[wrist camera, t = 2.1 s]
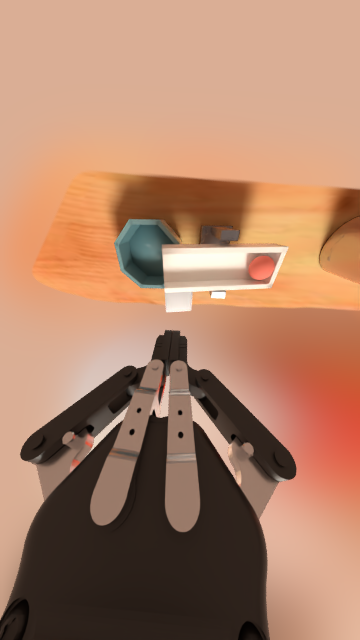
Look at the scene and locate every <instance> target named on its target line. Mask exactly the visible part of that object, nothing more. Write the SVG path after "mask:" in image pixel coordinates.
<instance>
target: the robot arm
mask: <svg viewBox="0 0 360 640" xmlns="http://www.w3.org/2000/svg"><path fill="white" fill-rule="evenodd" d="M320 265H321V267H322V268H323V270H325V271H327V272H329V273H332V274H335V275H337V276H340V277H343V278H345V279H347V280H350V281H353V282H355V283H358V284H360V216H359V217H356V218H354V219H352V220H350V221H349V222H347V223H346V224H344V225H343V226H341V227H340V228H339V229H338V230H337V231H336V232H335V233H333V235H332V236H331V237H330V238H329V239H328V241H327V242H326V244H325V245H324V247H323V249H322V251H321V254H320ZM169 374H170V392H169V410H168V411H169V414H168V416H167V417H163V418H160V408H161V403H162V398H163V393H164V389H165V382H166V376H169ZM190 395H191V396H194V398H195V399H196V401H197V402H198V403H199V405H200V406H201V407H202V409H203V410H204V411H205V412H206V414H207V415H208V416H209V418H210V419H211V421H212V422H213V423H214V424H215V426H216V427H217V428H218V430H219V431H220V432H221V434H222V435H223V436H224V438H225V439H226V440H227V442H228V443H229V444H230V445H229V447H228V457H229V460H230V462H231V464H232V466H233V467H234V470H235V473H236V480H235V479H234V477H233V475H232V474H231V472H230V471H229V469H228V467H227V466H226V465H225V463H224V461H223V460H222V458H221V457H220V455H219V453H218V452H217V450H216V449H215V447H214V445H213V444H212V443H211V441H210V439H209V438H208V436H207V435H206V433H205V432H204V430H203V429H202V428H201V427H200V426H199V425H198V424H197V423H196V422H194V421H192V410H191V398H190ZM128 406H129V407H128ZM127 407H128V410H127V413H126V415H125V418H124V420H123V421H121V422H120V423H119V424H117V425H116V426H115V427H114V428H113V429H112V430H111V431H110V432H109V433H108V435H106V437H105V438H104V439H103V440H102V441H101V442H100V443H99V444H98V445H97V446H96V447H95V448H94V449H93V450H92V451H91V452H90V453H89V451H90V450H91V448H92V446H93V443H94V438H95V437H96V436H97V435H98V434H99V433H100V432H101V431H102V430H103V429H104V428H105V427H106V426H107V425H109V423H111V422H112V421H113V420H114V419H115V418H116V417H117V416H118V415H119V414H120V413H121V412H122V411H123V410H124V409H125V408H127ZM88 453H89V454H88ZM87 454H88V455H87ZM20 455H21V458H22V460H25V461H28V462H31V463H32V464H35V465H36V466H37V470H38V475H39V479H40V484H41V487H42V492H43V497H44V503H43V504H42V506H41V507H40V509H39V510H38V512H37V514H36V516H35V517H34V520H33V522H32V524H31V526H30V529H29V531H28V534H27V537H26V540H25V544H24V549H23V554H22V558H21V563H20V567H19V571H18V574H17V578H16V581H15V584H14V587H13V590H12V593H11V596H10V599H9V601H8V604H7V606H6V609H5V611H4V613H3V616H2V617H1V620H0V640H270V637H269V630H268V621H267V607H266V579H267V550H266V543H265V538H264V534H263V530H262V527H261V524H260V522H259V518H260V516H261V514H262V513H263V511H264V509H265V507H266V505H267V503H268V501H269V499H270V497H271V495H272V494H273V492H274V490H275V488H276V486H277V484H278V483H279V482H282V481H286V480H290V479H293V478H294V477H295V475H296V464H295V461H294V459H293V457H292V455H291V454H290V452H289V451H288V450H287V449H286V448H285V447H284V446H283V445H282V444H281V443H280V442H279V441H278V440H277V439H276V438H275V437H274V436H273V435H272V434H271V433H270V432H269V431H268V429H267V428H266V427H265V426H264V425H263V424H262V423H261V422H259V420H258V419H257V418H256V417H255V416H253V414H252V413H251V412H250V411H249V410H248V409H247V408H246V407H245V406H244V405H243V404H242V403H241V402H240V401H239V400H238V399H237V398H236V397H235V396H234V395H233V394H232V393H231V392H230V391H229V390H228V389H227V388H226V387H225V386H224V385H223V384H222V383H221V382H220V381H219V380H218V379H217V378H216V377H215V376H214V375H213V374H212V373H211V372H210V371H208V370H205V369H202V370H199V371H197V370H194V369H192V368H190V367H189V365H188V364H187V339H186V337H185V336H180V331H171V330H170V331H169V330H165V333H164V335H159V337H158V338H157V340H156V344H155V348H154V351H153V355H152V359H151V362H149V363H148V365H147V366H144V367H141V368H137V369H136V368H135V367H134V366H126V367H124V368H123V369H121V370H120V371H119V372H117V373H116V374H114V375H113V376H112V377H110V378H109V379H107V380H106V381H105V382H103V383H102V384H100V385H99V386H98V387H96V388H95V389H94V390H92V391H91V392H90V393H88V394H87V395H85V396H84V397H83V398H81V399H80V400H79V401H77V402H76V403H74V404H73V405H72V406H70V407H69V408H68V409H66V410H65V411H63V412H62V413H61V414H59V415H58V416H57V417H55V418H54V419H53V420H51V421H50V422H48V423H47V424H46V425H45V426H43V427H42V428H40V429H39V430H37V431H36V432H35V433H33V434H32V435H31V436H30V437H29V438H28V439H27V441H26V442H25V443H24V445H23V447H22V449H21V453H20ZM86 455H87V456H86ZM85 456H86V457H85Z"/></svg>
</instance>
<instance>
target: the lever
mask: <svg viewBox="0 0 360 640" xmlns="http://www.w3.org/2000/svg"><path fill="white" fill-rule="evenodd" d="M287 250H288V247H287V246H282V245H278V244H273V243H270V244H167V245H162V256H163V272H164V287H165V303H166V312H178V311H191V306H192V292H194V291H216V290H238V289H260V288H271V287H272V285H273V282H274V280H275V278H276V275H277V273H278V271H279V268H280V266H281V264H282V261H283V259H284V257H285V254H286V252H287ZM259 256H268V257H270V258H272V259H273V261H274V264H275V267H274V271H273V272H272V274H271V275H270V276H269V277H267V278H265V279H262V280H256V279H254V278H252V277H251V276H250V274H249V271H248V268H249V265H250V263H251V262H252V261H253V260H254V259H255V258H257V257H259Z"/></svg>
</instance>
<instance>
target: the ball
mask: <svg viewBox="0 0 360 640" xmlns="http://www.w3.org/2000/svg"><path fill="white" fill-rule="evenodd" d="M274 267H275V264H274V261H273V259H272V258H270V257H268V256H259V257H257V258H255V259H254V260H253V261H252V262H251V263H250V265H249V268H248V271H249V274H250V276H251V277H252V278H254V279H256V280H262V279H265V278H267V277H269V276H270V275H271V274H272V272H273V271H274Z"/></svg>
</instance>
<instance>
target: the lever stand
mask: <svg viewBox="0 0 360 640" xmlns="http://www.w3.org/2000/svg"><path fill="white" fill-rule="evenodd" d="M232 227H233V226H202V227H201V239H200V244H229V243H230V241H238V237H239V233H240V230H236V229H232ZM209 292H210V295H211V298H225V295H226V291H225V290H216V291H209Z"/></svg>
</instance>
